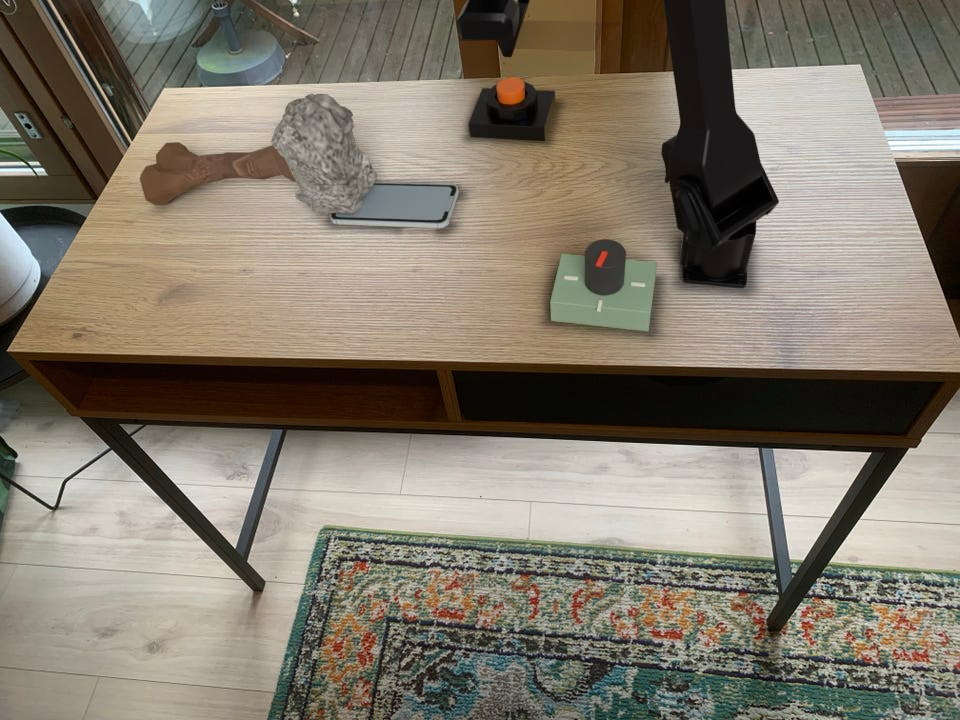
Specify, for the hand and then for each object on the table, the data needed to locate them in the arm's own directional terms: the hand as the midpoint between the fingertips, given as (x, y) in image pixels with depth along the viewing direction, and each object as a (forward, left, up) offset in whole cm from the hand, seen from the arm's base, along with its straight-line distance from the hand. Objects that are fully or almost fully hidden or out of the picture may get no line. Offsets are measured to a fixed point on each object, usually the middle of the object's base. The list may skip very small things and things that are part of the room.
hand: (508, 55), depth 92 cm
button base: (0, 0, -10) cm, 10 cm away
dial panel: (-16, +30, -10) cm, 35 cm away
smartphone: (+11, +18, -10) cm, 24 cm away
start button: (0, 0, -6) cm, 6 cm away
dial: (-16, +30, -6) cm, 35 cm away
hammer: (+28, +18, -10) cm, 35 cm away
